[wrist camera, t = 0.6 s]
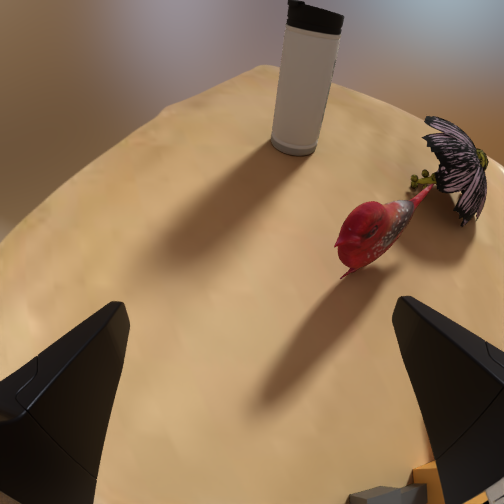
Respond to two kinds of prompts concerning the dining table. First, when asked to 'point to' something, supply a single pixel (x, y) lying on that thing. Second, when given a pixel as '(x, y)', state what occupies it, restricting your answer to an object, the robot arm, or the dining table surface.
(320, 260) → the dining table surface
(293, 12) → the travel mug
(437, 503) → the plug
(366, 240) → the decorative bird figurine
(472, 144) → the decorative flower
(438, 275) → the dining table surface
